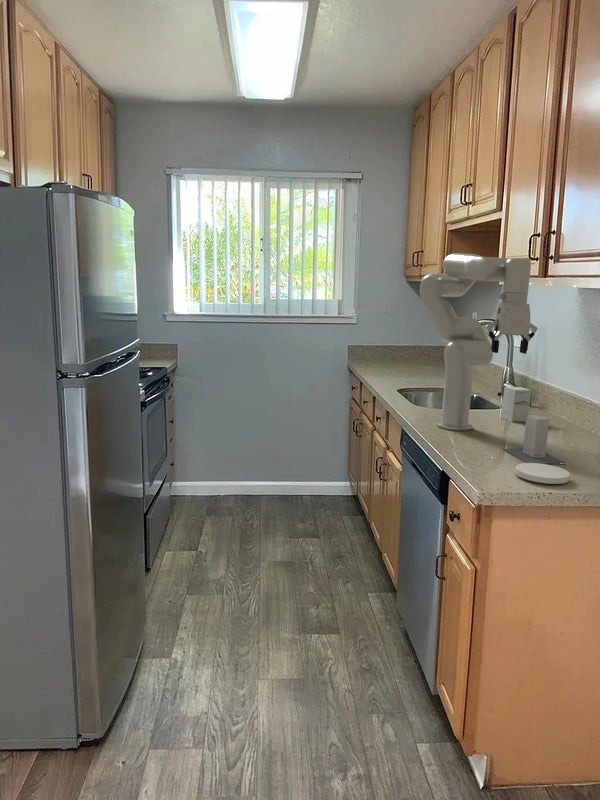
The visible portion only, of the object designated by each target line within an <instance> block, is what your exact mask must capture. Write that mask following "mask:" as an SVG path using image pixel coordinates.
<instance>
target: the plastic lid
mask: <svg viewBox="0 0 600 800" xmlns="http://www.w3.org/2000/svg"><path fill="white" fill-rule="evenodd" d="M514 468H515V470H514V474H515V475H516V476H518V477H519V478H521V479H523V480H526V481H531V482H534V483H539V484H540V483H541V484H547V485H548V484H551V485H556V484H558V485H560V484H566V483H568V482H570V479H571V478H570V477H571V473H570V472H569V471H568V470H566V469H565V468H561V467H559V466H556V465H546V464H539V463H525V462H523V463H518V464H517V465H515V467H514Z"/></svg>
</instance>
